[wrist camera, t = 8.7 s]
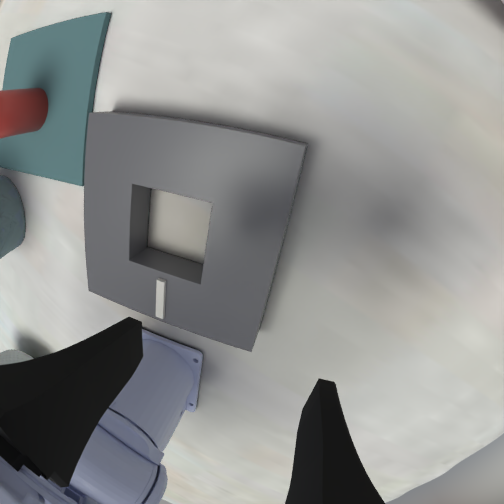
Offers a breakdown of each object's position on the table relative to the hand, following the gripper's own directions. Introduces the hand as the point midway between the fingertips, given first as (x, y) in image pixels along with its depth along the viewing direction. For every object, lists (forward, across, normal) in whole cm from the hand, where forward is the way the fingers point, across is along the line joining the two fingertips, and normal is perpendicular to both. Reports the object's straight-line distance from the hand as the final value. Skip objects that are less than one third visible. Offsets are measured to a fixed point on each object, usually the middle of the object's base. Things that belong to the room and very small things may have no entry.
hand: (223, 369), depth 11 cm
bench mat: (+10, +22, -9) cm, 26 cm away
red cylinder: (+10, +22, -8) cm, 26 cm away
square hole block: (+10, +6, -1) cm, 12 cm away
